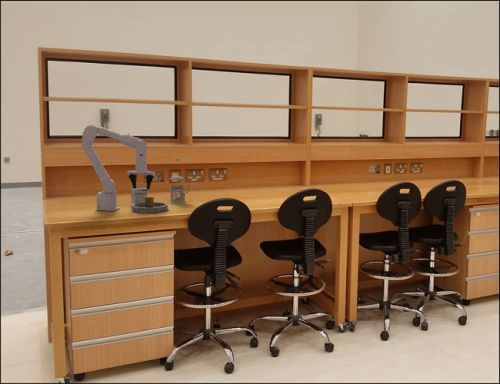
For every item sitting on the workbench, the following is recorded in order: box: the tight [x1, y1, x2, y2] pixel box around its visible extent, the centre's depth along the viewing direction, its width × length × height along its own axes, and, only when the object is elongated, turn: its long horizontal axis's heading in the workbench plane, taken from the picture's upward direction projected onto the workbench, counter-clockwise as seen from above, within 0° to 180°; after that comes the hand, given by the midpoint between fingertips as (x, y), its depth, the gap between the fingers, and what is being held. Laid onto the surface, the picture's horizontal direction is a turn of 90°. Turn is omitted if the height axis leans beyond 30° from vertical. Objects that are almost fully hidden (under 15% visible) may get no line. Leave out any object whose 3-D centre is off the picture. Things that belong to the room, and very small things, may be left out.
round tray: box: [131, 201, 169, 214], centre depth 253 cm, size 18×18×3 cm
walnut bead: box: [145, 196, 155, 208], centre depth 253 cm, size 4×4×6 cm
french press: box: [168, 158, 190, 205], centre depth 275 cm, size 10×12×25 cm
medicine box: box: [130, 187, 148, 205], centre depth 269 cm, size 8×4×9 cm, turn 126°
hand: (141, 188), depth 256 cm, fingers open, 7 cm apart
